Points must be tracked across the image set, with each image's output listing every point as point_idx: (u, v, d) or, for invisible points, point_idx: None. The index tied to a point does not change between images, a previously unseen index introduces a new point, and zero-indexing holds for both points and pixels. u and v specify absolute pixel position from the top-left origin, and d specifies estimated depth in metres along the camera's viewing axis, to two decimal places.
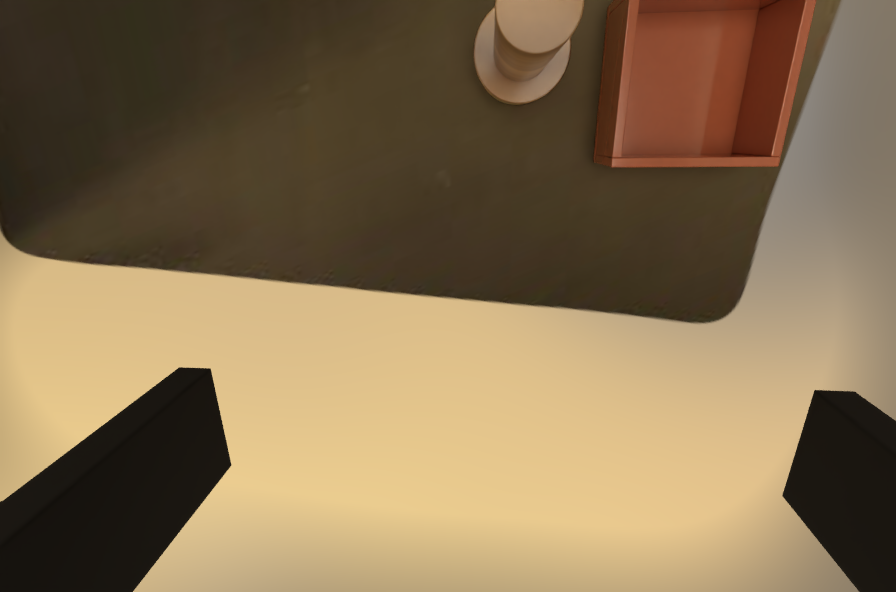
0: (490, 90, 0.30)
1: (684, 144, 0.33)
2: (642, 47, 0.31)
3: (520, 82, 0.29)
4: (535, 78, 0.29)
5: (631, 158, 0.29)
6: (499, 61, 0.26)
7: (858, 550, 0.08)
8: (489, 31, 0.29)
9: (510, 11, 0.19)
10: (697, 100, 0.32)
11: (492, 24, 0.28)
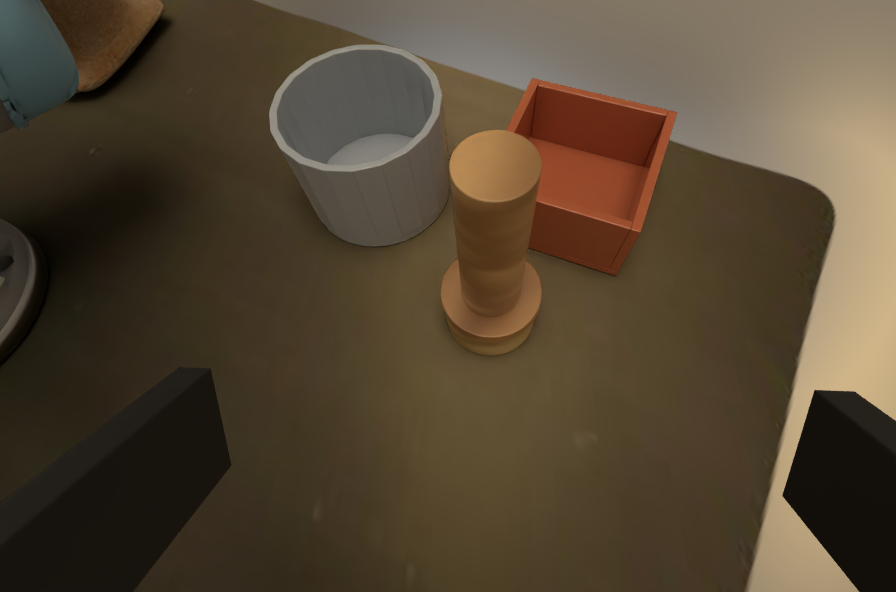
0: (515, 330, 0.26)
1: (623, 197, 0.34)
2: None
3: (519, 299, 0.27)
4: (521, 285, 0.28)
5: (636, 214, 0.27)
6: (500, 289, 0.23)
7: (858, 550, 0.08)
8: (460, 312, 0.27)
9: (489, 188, 0.17)
10: (586, 182, 0.34)
11: (455, 307, 0.27)
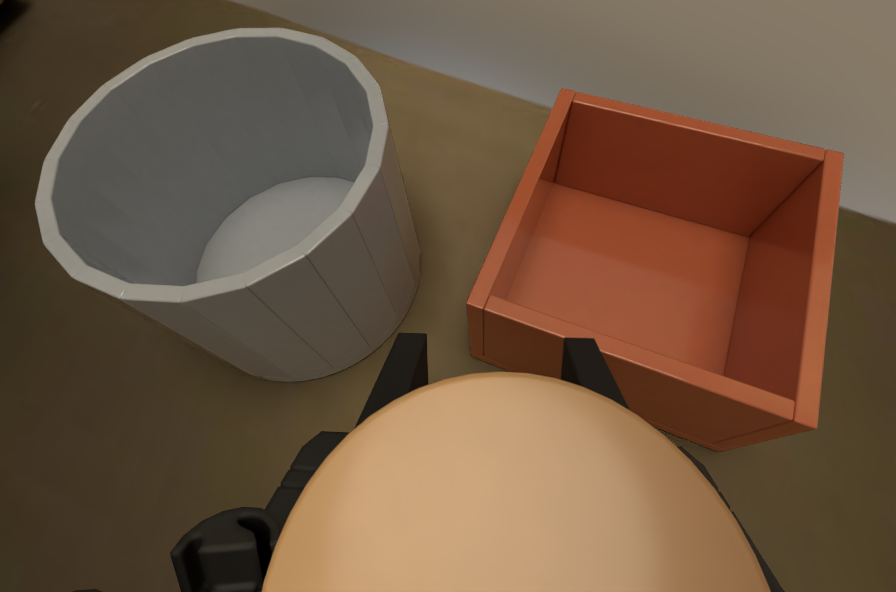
0: None
1: (721, 296, 0.19)
2: None
3: None
4: None
5: (799, 381, 0.13)
6: None
7: None
8: None
9: None
10: (652, 266, 0.20)
11: None
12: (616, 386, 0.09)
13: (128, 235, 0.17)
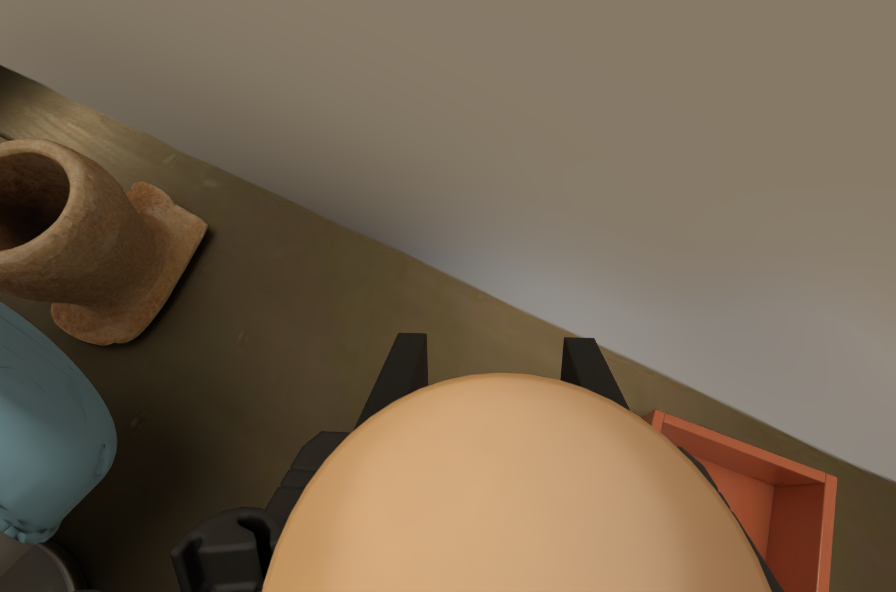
0: None
1: (757, 534, 0.29)
2: None
3: None
4: None
5: None
6: None
7: None
8: None
9: None
10: None
11: None
12: (616, 386, 0.09)
13: None
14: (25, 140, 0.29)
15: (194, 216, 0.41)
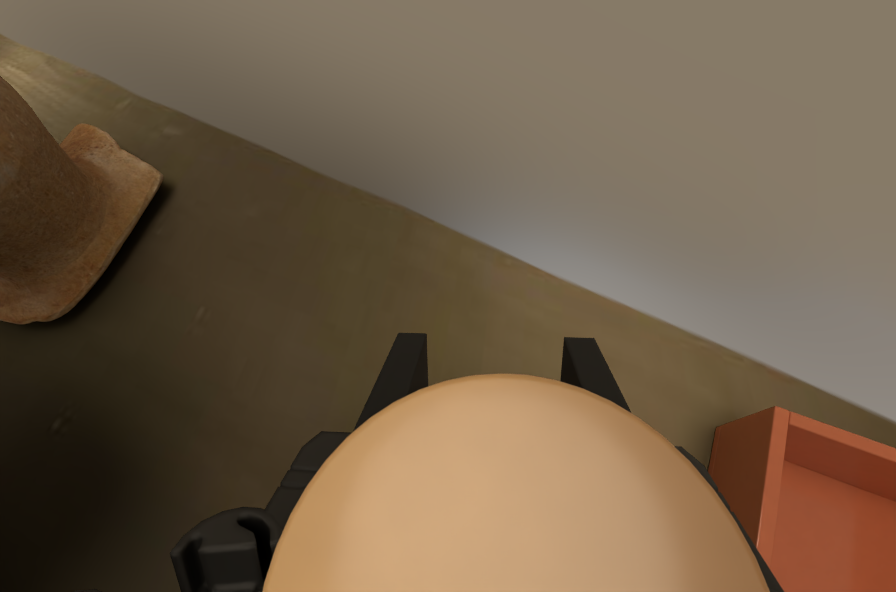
0: None
1: None
2: None
3: None
4: None
5: None
6: None
7: None
8: None
9: None
10: (843, 546, 0.21)
11: None
12: (616, 386, 0.09)
13: None
14: None
15: (145, 164, 0.33)
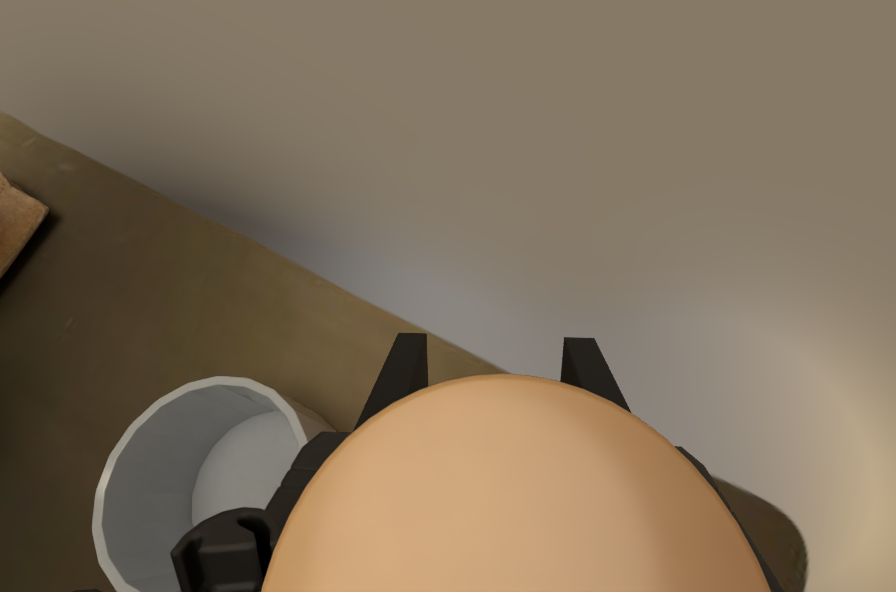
0: None
1: None
2: None
3: None
4: None
5: None
6: None
7: None
8: None
9: None
10: None
11: None
12: (616, 386, 0.09)
13: (146, 508, 0.26)
14: None
15: (32, 199, 0.40)
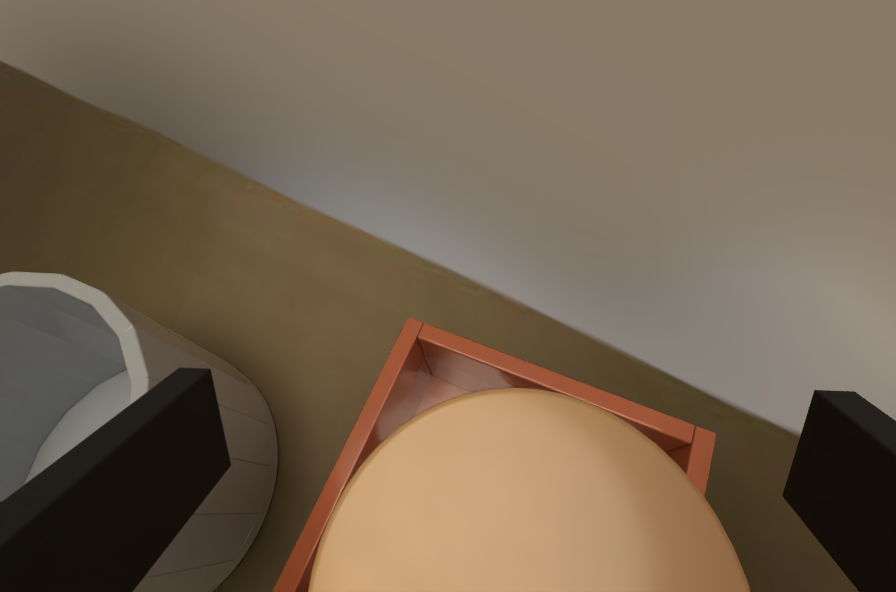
0: None
1: None
2: None
3: None
4: None
5: None
6: None
7: (858, 550, 0.08)
8: None
9: None
10: None
11: None
12: None
13: None
14: None
15: None
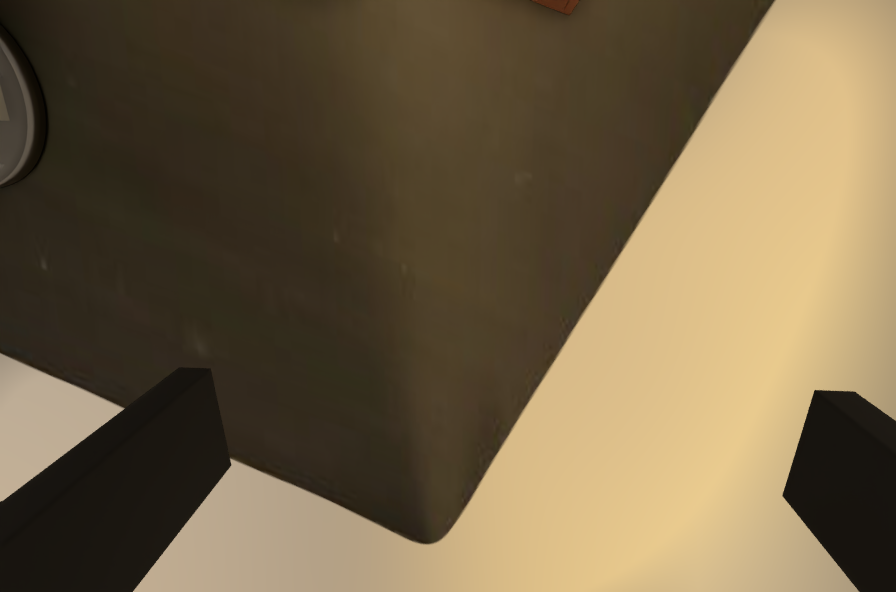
0: None
1: None
2: None
3: None
4: None
5: None
6: None
7: (858, 550, 0.08)
8: None
9: None
10: None
11: None
12: None
13: None
14: None
15: None
